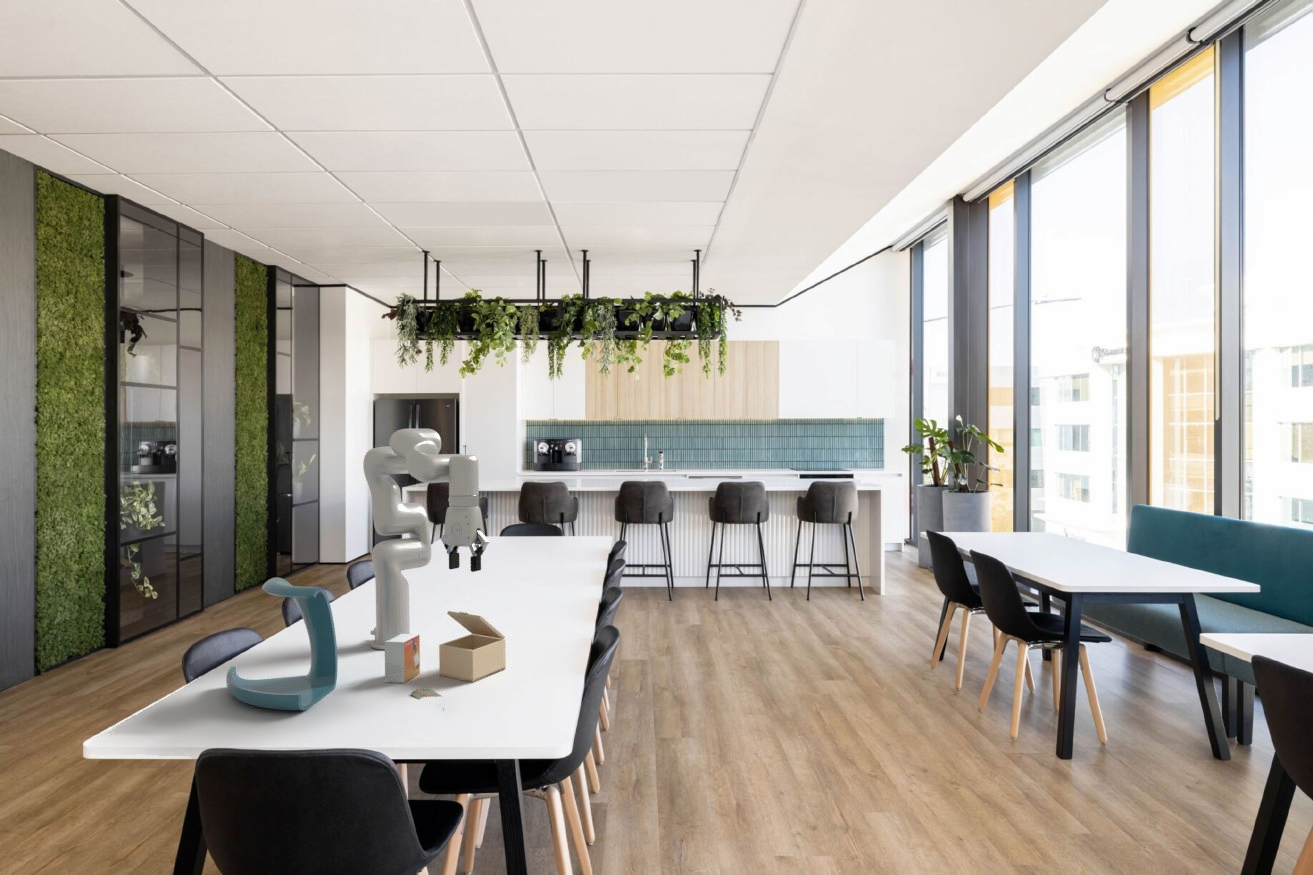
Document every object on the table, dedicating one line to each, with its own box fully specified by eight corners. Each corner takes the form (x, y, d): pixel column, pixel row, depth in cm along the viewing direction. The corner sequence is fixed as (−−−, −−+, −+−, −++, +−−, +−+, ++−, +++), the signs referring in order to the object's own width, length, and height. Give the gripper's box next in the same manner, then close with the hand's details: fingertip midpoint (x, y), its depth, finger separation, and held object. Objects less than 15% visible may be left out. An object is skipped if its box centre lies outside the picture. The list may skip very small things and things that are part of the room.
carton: (439, 675, 189) (439, 644, 189) (472, 662, 199) (472, 633, 199) (473, 682, 183) (472, 651, 183) (505, 669, 193) (505, 639, 193)
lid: (445, 612, 191) (447, 609, 191) (472, 633, 199) (473, 631, 200) (478, 617, 185) (479, 614, 186) (503, 639, 193) (505, 636, 194)
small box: (404, 683, 183) (403, 642, 183) (384, 682, 184) (383, 641, 184) (420, 673, 191) (420, 633, 191) (401, 672, 192) (401, 632, 192)
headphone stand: (297, 717, 161) (304, 592, 163) (174, 713, 162) (182, 589, 164) (348, 684, 188) (354, 577, 189) (242, 681, 188) (249, 574, 190)
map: (426, 689, 179) (426, 685, 179) (470, 710, 165) (470, 706, 165) (407, 695, 176) (407, 691, 176) (450, 717, 161) (450, 713, 161)
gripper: (429, 502, 190) (430, 569, 190) (478, 504, 182) (479, 574, 182) (451, 499, 197) (451, 564, 197) (498, 502, 188) (499, 570, 188)
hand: (464, 569), depth 189 cm, fingers open, 7 cm apart
